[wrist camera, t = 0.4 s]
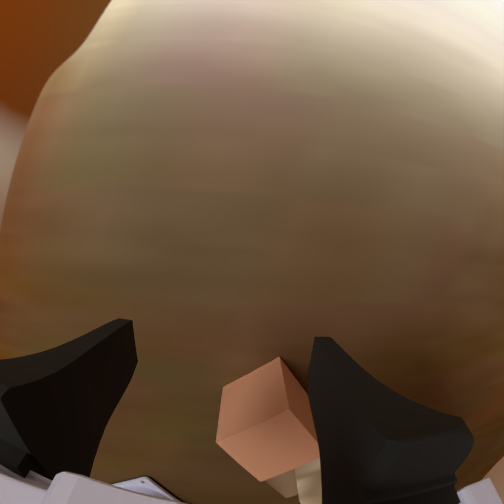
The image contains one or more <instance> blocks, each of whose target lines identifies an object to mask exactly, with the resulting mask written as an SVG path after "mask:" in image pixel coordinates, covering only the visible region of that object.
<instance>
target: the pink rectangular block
mask: <svg viewBox="0 0 504 504" xmlns="http://www.w3.org/2000/svg"><path fill="white" fill-rule="evenodd" d="M216 443H217V444H218V445H219V446H220V447H221V448H223V449H224V450H225V451H226V452H227V453H228V454H229V455H230V456H231V457H232V458H233V459H235V460H236V461H237V462H238V463H239V464H240V465H241V466H242V467H244V468H245V469H246V470H247V471H248V472H249V473H251V474H252V475H253V476H254V477H255V478H256V479H258V480H259V481H260V482H261V481H264V480H267V479H270V478H272V477H275V476H277V475H280V474H282V473H285V472H287V471H290V470H292V469H294V468H297V467H299V466H301V465H304V464H306V463H308V462H310V461H313V460H315V459H317V458H319V457H320V454H319V446H318V441H317V436H316V431H315V427H314V422H313V417H312V413H311V408H310V403H309V398H308V394H307V393H306V392H305V390H304V389H303V388H302V386H301V385H300V384H299V382H298V381H297V380H296V378H295V377H294V376H293V374H292V373H291V372H290V370H289V369H288V367H287V366H286V365H285V363H284V362H283V361H282V359H281V358H280V357H278V358H276V359H274V360H272V361H271V362H269V363H267V364H265V365H263V366H262V367H260V368H258V369H256V370H254V371H252V372H251V373H249V374H247V375H245V376H243V377H241V378H239V379H237V380H235V381H233V382H232V383H230V384H228V385H226V386H224V387H223V391H222V399H221V406H220V414H219V422H218V430H217V437H216Z"/></svg>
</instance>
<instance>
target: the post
mask: <svg viewBox="0 0 504 504" xmlns="http://www.w3.org/2000/svg"><path fill="white" fill-rule="evenodd" d="M294 469H295V475H296V481H297V488H298V494H299V501H300V503H301V504H322V486H321V467H320V457H319V458H317V459H315V460H313V461H310V462H308V463H306V464H304V465H301V466H299V467H297V468H294Z"/></svg>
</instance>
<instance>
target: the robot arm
mask: <svg viewBox="0 0 504 504" xmlns="http://www.w3.org/2000/svg"><path fill="white" fill-rule="evenodd" d="M137 362H138V360H137V353H136V346H135V339H134V331H133V323H132V320H126V319H120V318H119V319H116V320H113V321H111V322H109V323H107V324H105V325H103V326H101V327H99V328H97V329H95V330H93V331H91V332H89V333H87V334H85V335H83V336H81V337H79V338H76V339H74V340H72V341H70V342H67V343H65V344H63V345H60V346H58V347H55V348H52V349H49V350H46V351H43V352H40V353H36V354H32V355H27V356H23V357H18V358H12V359H3V360H0V504H187V503H184V502H180V501H179V500H178V499H176V498H175V497H173V496H172V495H171V494H169V493H168V492H167V491H165V490H164V489H163V488H161V487H160V486H159V485H158V484H156V483H155V482H154V481H153V480H151V479H150V478H149V477H141V478H137V479H133V480H129V481H125V482H120V483H116V484H107V483H104V482H101V481H98V480H95V479H92V478H89V477H90V473H91V469H92V465H93V462H94V458H95V455H96V452H97V449H98V446H99V443H100V440H101V438H102V435H103V432H104V430H105V427H106V425H107V423H108V421H109V419H110V417H111V415H112V413H113V411H114V410H115V408H116V406H117V404H118V402H119V401H120V399H121V397H122V395H123V394H124V392H125V390H126V388H127V386H128V384H129V383H130V381H131V378H132V376H133V373H134V370H135V368H136V365H137ZM307 385H308V398H309V403H310V408H311V413H312V417H313V422H314V427H315V431H316V436H317V441H318V446H319V454H320V467H321V486H322V504H503V503H502V501H501V499H500V498H499V495H498V493H497V491H496V489H495V487H494V486H493V484H492V482H491V480H490V478H486V479H483V480H481V481H478V482H476V483H473V484H470V485H468V486H465V487H463V488H462V489H460V490H458V491H457V492H456V490H455V488H454V486H453V485H455V484H456V483H457V478H456V476H455V474H454V473H455V471H456V470H457V469H458V468H459V466H460V465H461V464H462V462H463V461H464V460H465V458H466V457H467V456H468V454H469V452H470V451H471V449H472V446H473V443H474V438H473V435H472V433H471V432H470V430H469V428H468V427H467V425H466V424H465V422H464V420H463V419H462V418H460V417H456V416H452V415H448V414H445V413H441V412H438V411H435V410H432V409H430V408H427V407H424V406H422V405H420V404H417V403H415V402H413V401H411V400H409V399H407V398H405V397H403V396H401V395H399V394H398V393H396V392H394V391H393V390H391V389H390V388H388V387H387V386H385V385H384V384H382V383H381V382H379V381H378V380H376V379H375V378H374V377H373V376H371V375H370V374H369V373H368V372H366V371H365V370H364V369H363V368H362V367H361V366H359V365H358V364H357V363H356V362H355V361H354V360H353V359H352V358H351V357H350V356H349V355H348V354H347V353H346V352H345V351H344V350H343V349H342V348H341V347H340V346H339V345H338V344H337V343H336V342H335V341H334V340H333V339H332V338H331V337H315V339H314V345H313V350H312V355H311V361H310V366H309V371H308V376H307Z"/></svg>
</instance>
